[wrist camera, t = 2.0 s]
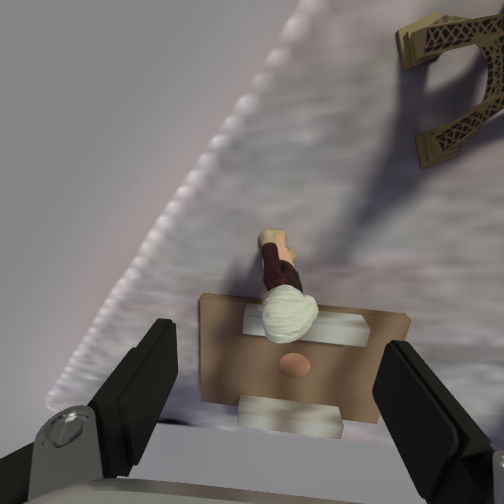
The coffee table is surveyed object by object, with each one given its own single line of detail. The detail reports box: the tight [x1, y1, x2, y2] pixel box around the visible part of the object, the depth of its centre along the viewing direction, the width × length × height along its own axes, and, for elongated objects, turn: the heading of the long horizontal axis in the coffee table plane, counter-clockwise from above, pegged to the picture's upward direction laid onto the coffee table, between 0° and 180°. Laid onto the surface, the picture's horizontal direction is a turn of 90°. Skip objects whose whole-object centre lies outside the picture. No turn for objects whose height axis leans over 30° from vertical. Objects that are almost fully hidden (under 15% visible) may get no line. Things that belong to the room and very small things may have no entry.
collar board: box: [200, 293, 411, 439], centre depth 26 cm, size 22×15×4 cm
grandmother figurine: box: [259, 229, 318, 343], centre depth 18 cm, size 8×4×13 cm, turn 36°
